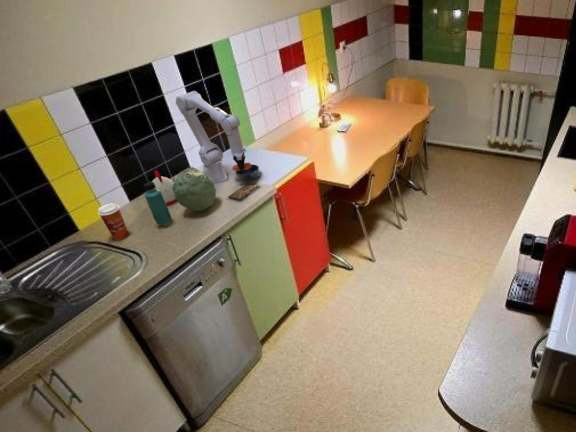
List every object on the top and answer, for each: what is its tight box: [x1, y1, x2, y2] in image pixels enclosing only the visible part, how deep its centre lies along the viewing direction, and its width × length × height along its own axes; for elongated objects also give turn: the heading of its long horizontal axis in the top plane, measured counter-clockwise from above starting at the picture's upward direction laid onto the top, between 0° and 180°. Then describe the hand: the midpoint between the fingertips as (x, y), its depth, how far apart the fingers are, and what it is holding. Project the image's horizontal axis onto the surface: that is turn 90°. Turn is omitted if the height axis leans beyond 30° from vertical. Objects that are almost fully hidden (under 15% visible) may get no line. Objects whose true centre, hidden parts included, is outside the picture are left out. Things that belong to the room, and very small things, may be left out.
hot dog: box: [232, 161, 252, 172], centre depth 203 cm, size 9×3×3 cm, turn 110°
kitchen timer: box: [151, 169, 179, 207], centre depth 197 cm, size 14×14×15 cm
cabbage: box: [172, 166, 217, 212], centre depth 186 cm, size 16×19×20 cm
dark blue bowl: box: [234, 163, 261, 182], centre depth 215 cm, size 12×12×4 cm
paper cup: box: [97, 203, 129, 241], centre depth 172 cm, size 8×8×14 cm
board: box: [228, 182, 260, 202], centre depth 202 cm, size 14×7×1 cm, turn 155°
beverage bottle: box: [143, 181, 173, 226], centre depth 176 cm, size 6×7×20 cm
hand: (242, 168), depth 203 cm, fingers closed on hot dog, 3 cm apart
